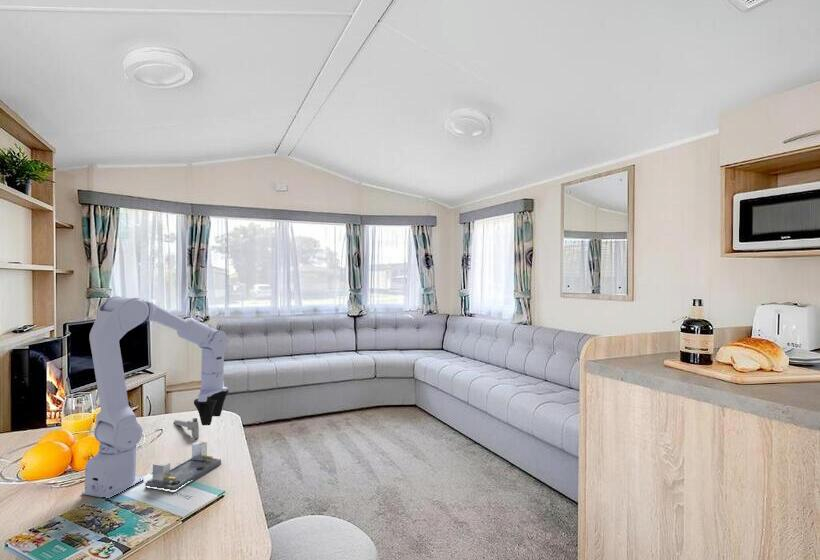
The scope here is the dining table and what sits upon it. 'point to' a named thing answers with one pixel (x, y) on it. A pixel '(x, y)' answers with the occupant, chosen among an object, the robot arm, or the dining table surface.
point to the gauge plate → (180, 472)
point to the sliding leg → (200, 451)
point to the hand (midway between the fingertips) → (211, 420)
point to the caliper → (190, 426)
